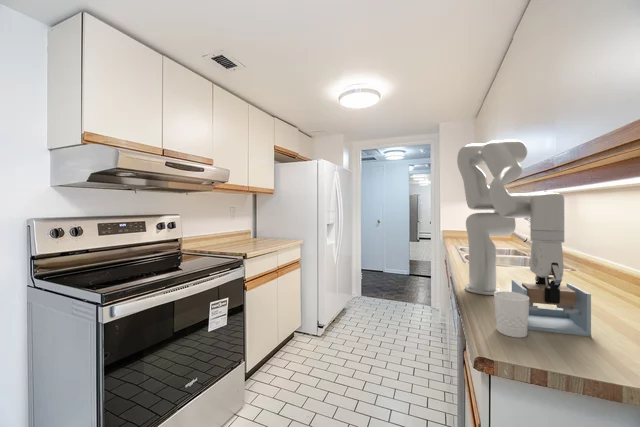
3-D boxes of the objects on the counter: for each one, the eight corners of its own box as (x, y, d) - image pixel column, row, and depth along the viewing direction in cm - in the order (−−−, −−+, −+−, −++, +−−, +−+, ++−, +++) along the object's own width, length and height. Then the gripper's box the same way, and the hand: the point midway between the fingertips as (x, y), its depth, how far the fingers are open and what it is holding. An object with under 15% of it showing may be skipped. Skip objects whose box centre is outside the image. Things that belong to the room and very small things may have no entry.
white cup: (523, 342, 69) (522, 302, 69) (489, 331, 76) (488, 294, 76) (534, 333, 74) (534, 296, 74) (501, 323, 80) (501, 289, 80)
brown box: (522, 296, 84) (521, 283, 84) (565, 299, 80) (565, 286, 80) (528, 302, 78) (528, 288, 78) (575, 306, 75) (575, 292, 75)
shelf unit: (511, 314, 87) (511, 279, 87) (570, 320, 82) (569, 283, 82) (523, 328, 77) (523, 289, 77) (591, 336, 72) (590, 294, 71)
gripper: (521, 233, 88) (521, 289, 89) (543, 239, 72) (543, 307, 73) (550, 233, 86) (550, 291, 86) (579, 240, 70) (579, 311, 70)
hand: (547, 298), depth 79 cm, fingers closed on brown box, 6 cm apart
